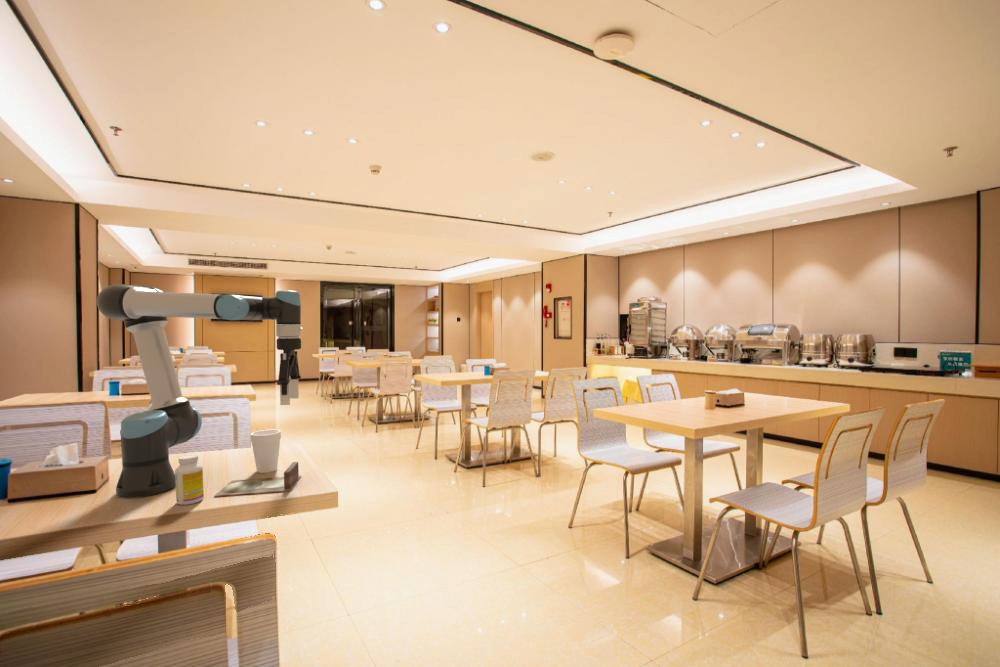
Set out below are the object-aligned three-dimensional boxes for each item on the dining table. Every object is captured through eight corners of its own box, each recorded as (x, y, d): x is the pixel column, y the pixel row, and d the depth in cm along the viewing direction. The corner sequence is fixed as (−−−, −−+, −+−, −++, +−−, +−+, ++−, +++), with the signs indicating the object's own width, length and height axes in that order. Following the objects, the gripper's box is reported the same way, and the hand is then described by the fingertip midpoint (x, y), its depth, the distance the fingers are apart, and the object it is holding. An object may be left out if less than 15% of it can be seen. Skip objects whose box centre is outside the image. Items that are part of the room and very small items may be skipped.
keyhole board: (214, 497, 144) (213, 478, 144) (231, 481, 158) (231, 465, 157) (290, 491, 147) (289, 473, 147) (301, 476, 161) (300, 460, 161)
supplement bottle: (209, 498, 143) (207, 454, 143) (189, 506, 137) (187, 460, 136) (191, 496, 145) (189, 453, 145) (170, 504, 139) (168, 459, 138)
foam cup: (274, 474, 165) (272, 435, 164) (246, 474, 165) (245, 435, 165) (286, 465, 174) (285, 429, 174) (260, 466, 174) (259, 429, 174)
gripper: (292, 338, 152) (293, 407, 153) (307, 336, 176) (308, 395, 177) (266, 339, 151) (267, 408, 151) (285, 336, 175) (286, 396, 176)
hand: (289, 401), depth 164 cm, fingers open, 13 cm apart
